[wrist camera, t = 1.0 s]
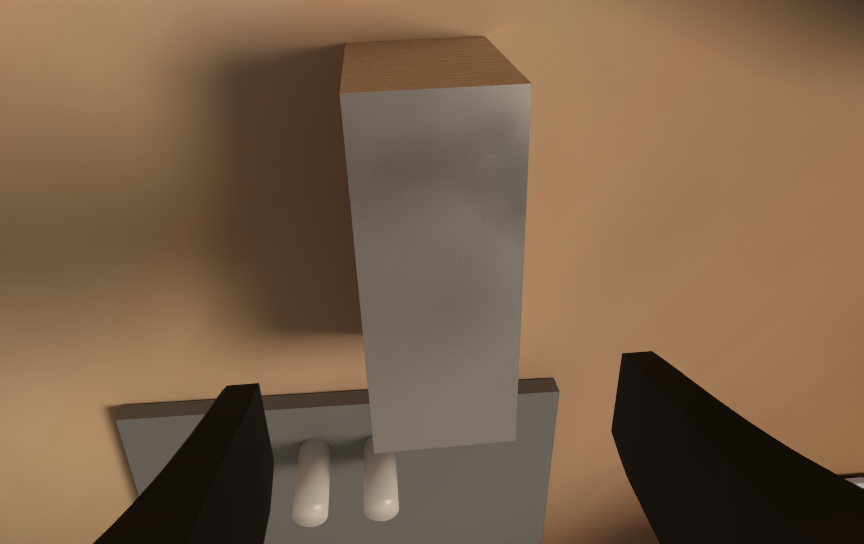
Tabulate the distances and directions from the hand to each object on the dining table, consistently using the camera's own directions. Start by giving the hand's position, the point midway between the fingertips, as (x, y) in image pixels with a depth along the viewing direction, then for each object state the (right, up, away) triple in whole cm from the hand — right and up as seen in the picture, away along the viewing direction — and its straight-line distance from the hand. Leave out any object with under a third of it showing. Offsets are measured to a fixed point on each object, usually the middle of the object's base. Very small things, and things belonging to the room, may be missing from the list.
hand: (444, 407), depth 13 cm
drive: (-1, +5, +8) cm, 10 cm away
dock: (-4, -9, +16) cm, 18 cm away
